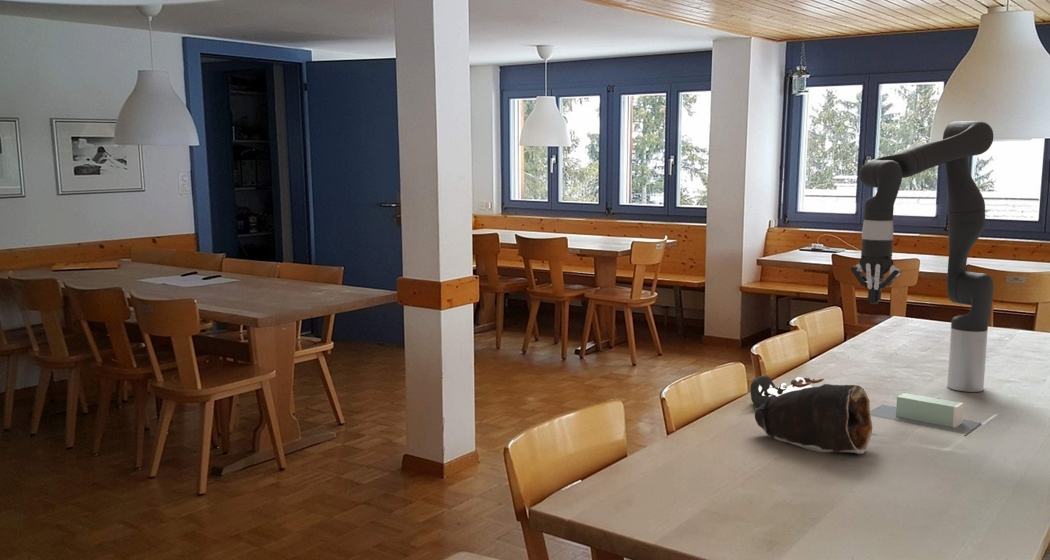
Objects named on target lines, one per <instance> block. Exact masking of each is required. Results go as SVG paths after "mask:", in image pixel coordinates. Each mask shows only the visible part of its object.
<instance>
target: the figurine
mask: <svg viewBox="0 0 1050 560" xmlns="http://www.w3.org/2000/svg"><path fill="white" fill-rule="evenodd" d="M824 380H825V378H820V379H815V378H813V379H810V378H809V377H808V378H807V377H801V376H798V377H796V378H795V379H792V380H791V381H790V385H788V386H787V383H785V382H782V383H781V384H780V385H779V386H777V387H776V385H775V384H774V382H773V379H772V377H770V376H769V375H768V374H765V375H761V376H759V375H758V376H755V377H754V379H753V380H752V382H751V383H750V392H749V393H750V398H751V402H752V404H753V405H754V406H755V407H759V406H761V405H762V404H764V403H765V402H766V401H767V399H768V398H769V397H777V396H779V395H781V394H784V393H787V392H791V391H795V390H801V389H804V388H810V387H813V386H812V385H811V384H819V383H821V382H823V381H824Z"/></svg>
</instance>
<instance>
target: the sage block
mask: <svg viewBox="0 0 1050 560" xmlns="http://www.w3.org/2000/svg"><path fill="white" fill-rule="evenodd" d="M895 407H896V416H898V417H903V418H908V419H913V420H919V421H924V422H929V423H934V424H939V425H945V426H950V427H955V428H956V427H957V426H959V425H960V424H961V423H962V419H963V416H964V402H959V401H954V400H953V401H952V400H947V399H941V398H936V397H932V396H931V397H930V396H925V395H924V396H923V395H918V394H911V393H907V392H903V393H902V394H901V393H900V394H899V395H897V396H896V406H895Z"/></svg>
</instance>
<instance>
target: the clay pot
mask: <svg viewBox="0 0 1050 560" xmlns="http://www.w3.org/2000/svg"><path fill="white" fill-rule="evenodd" d="M870 402H871V400H870V399H869V396H868V395H867V393H866V391H865V389H864V388H863V387H862V386H861V385H858V384H830V383H824V384H822V385H819V386H812V387H810V388H804V389H801V390H795V391H791V392H787V393H784V394H781V395H779V396H776V397H769V398H768V399H767V401H766V402H765V403H764V404H762V405H760V406H757V408H756V409H755V410H754V419H755V421H756V424H757V425H758V427H760V428H761V429H762V430H763V432H765V434H766V435H768V436H769V437H771V438H773V439H775V440H776V441H778V442H784V443H789V444H792V445H794V446H796V447H799V448H800V447H801V448H804V449H806V450H810V451H813V452H814V451H815V452H819V453H851V454H852V453H854V454H857V455H862V454H864V453H865V452H866V451H867V448H868V446H869V444H870V441H871V437H872V436H873V422H872V416H871V415H870V411H871V405H870V404H871V403H870Z"/></svg>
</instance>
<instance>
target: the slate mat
mask: <svg viewBox="0 0 1050 560" xmlns="http://www.w3.org/2000/svg"><path fill="white" fill-rule="evenodd" d="M870 415H871V417H878V418H882V419H888V420H892V421H897V422H903V423H908V424H912V425H918V426H924V427H928V428H933V429H938V430H943V431H948V432H949V431H950V432H955V433H959V434H964V435H963V437H967V436H969V435H970V434H972V433H973V432H974V431H975V430H977V429H978V428H980V427H981V426H982V424H983V423H982V422H980V421H974V420H969V419H963V418H962V423H961V424H960V425H959V426H957V427H956V428H955V427H950V426H945V425H939V424H934V423H929V422H924V421H919V420H913V419H908V418H903V417H898V416H896V406H894V405H887V404H880V405H879V406H877V407H875V408H873V409H870Z"/></svg>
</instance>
